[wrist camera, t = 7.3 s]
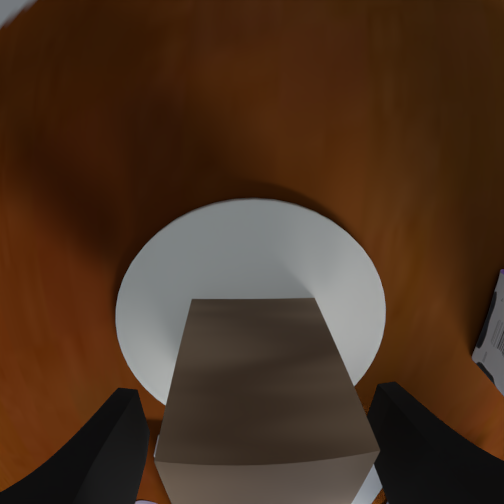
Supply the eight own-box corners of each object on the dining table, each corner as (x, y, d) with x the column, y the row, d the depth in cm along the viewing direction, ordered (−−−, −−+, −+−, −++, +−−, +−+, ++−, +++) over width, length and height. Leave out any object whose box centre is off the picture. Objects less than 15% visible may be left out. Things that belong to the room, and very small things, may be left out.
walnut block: (314, 297, 12) (380, 450, 5) (303, 386, 13) (336, 526, 7) (191, 298, 12) (154, 461, 5) (200, 388, 13) (185, 533, 7)
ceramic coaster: (398, 202, 11) (406, 206, 11) (354, 412, 15) (357, 420, 15) (103, 200, 11) (96, 204, 10) (143, 416, 15) (141, 424, 14)
